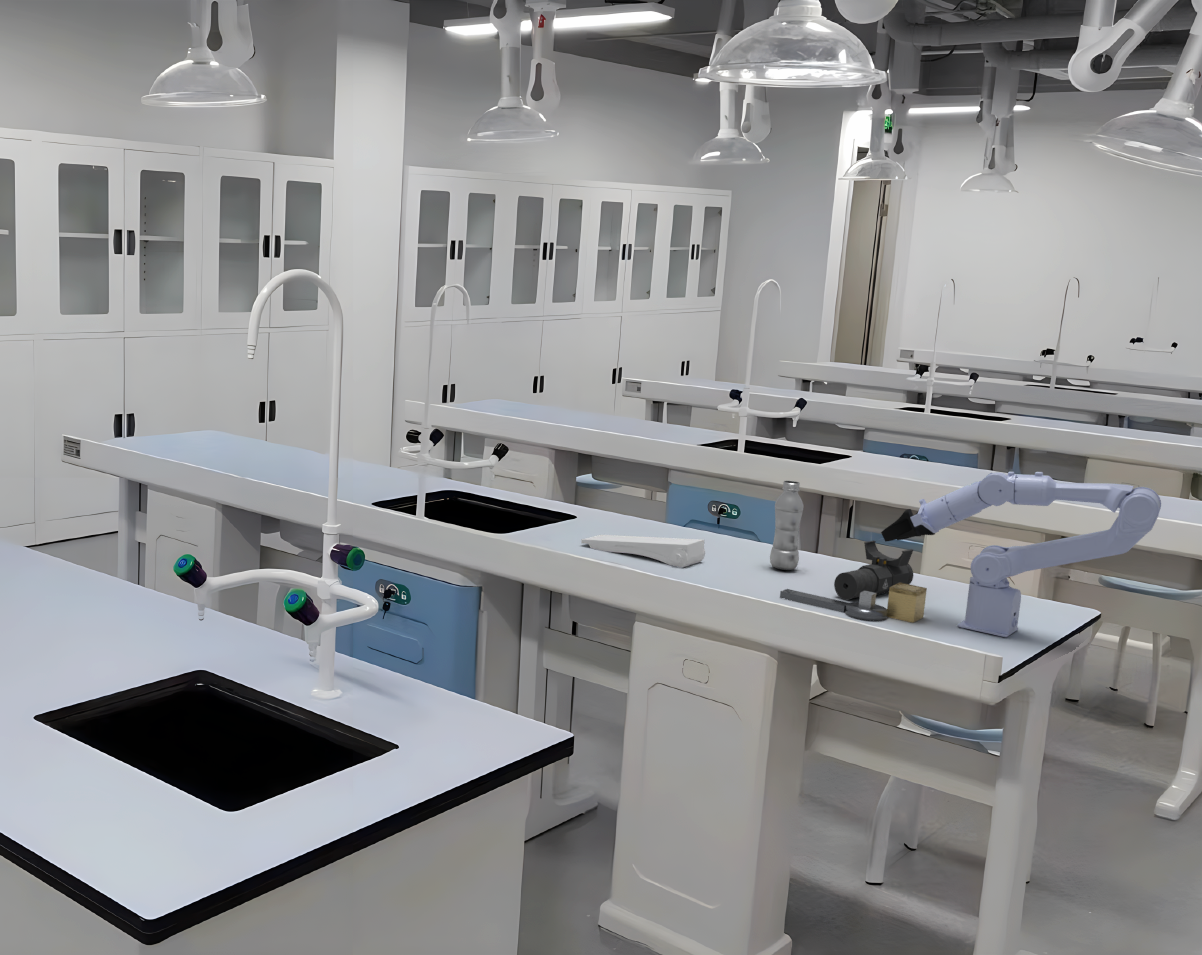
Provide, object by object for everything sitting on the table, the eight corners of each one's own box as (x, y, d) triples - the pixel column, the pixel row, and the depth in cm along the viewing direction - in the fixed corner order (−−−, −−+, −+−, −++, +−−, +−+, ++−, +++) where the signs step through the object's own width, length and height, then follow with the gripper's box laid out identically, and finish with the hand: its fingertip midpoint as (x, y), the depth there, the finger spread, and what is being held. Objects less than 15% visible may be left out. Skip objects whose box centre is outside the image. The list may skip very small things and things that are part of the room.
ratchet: (892, 616, 230) (895, 593, 229) (877, 624, 223) (879, 600, 223) (791, 593, 242) (793, 571, 242) (774, 600, 236) (776, 577, 235)
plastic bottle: (776, 573, 259) (784, 484, 256) (763, 565, 265) (772, 479, 262) (802, 573, 261) (811, 485, 258) (790, 565, 267) (798, 479, 264)
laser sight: (824, 595, 243) (829, 548, 242) (883, 581, 259) (888, 537, 257) (864, 606, 236) (869, 558, 235) (922, 592, 252) (927, 546, 251)
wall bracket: (583, 571, 273) (688, 578, 258) (577, 542, 271) (683, 547, 255) (605, 554, 281) (708, 560, 265) (599, 526, 279) (703, 530, 263)
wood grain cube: (923, 617, 230) (926, 588, 229) (913, 622, 226) (916, 592, 225) (896, 611, 233) (899, 582, 232) (886, 616, 229) (889, 587, 228)
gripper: (953, 489, 233) (892, 517, 239) (933, 489, 221) (869, 518, 227) (968, 522, 232) (906, 549, 238) (949, 523, 219) (884, 551, 225)
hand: (889, 536), depth 232 cm, fingers open, 7 cm apart
